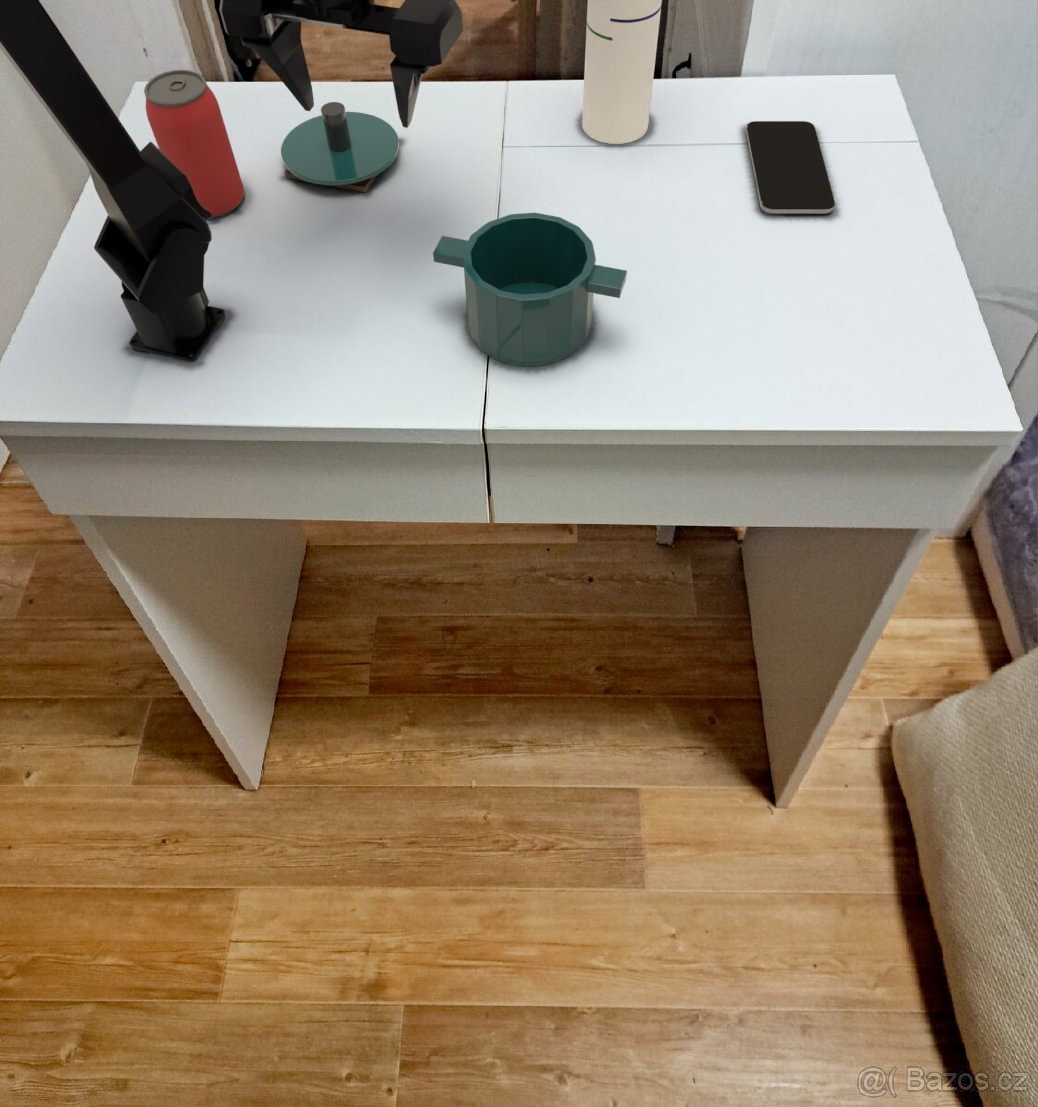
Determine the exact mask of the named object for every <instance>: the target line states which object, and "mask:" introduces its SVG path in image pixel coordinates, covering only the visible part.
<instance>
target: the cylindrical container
mask: <svg viewBox="0 0 1038 1107" xmlns="http://www.w3.org/2000/svg"><path fill="white" fill-rule="evenodd" d="M662 3H663V0H587V7H586V8H587V9H586V30H585V51H584V53H585V54H584V56H585V57H584V73H583V93H582V94H583V96H582V97H583V98H582V116H581V117H582V118H581V126H582V130H583V131H584V133H585V134H586V135H587V136H588V137H589V138H591V139H592V140H595V141H597V142H600V143H603V144H609V145H623V144H628V143H629V144H630V143H632V142H635V141H637V140H639V139H641V138H642V137H643V136H645V134H646V133H647V131H648V129H649V123H650V122H649V121H650V113H651V103H652V93H653V85H654V76H655V75H654V74H655V66H656V59H657V58H656V57H657V50H658V40H659V31H660V23H661V12H662Z"/></svg>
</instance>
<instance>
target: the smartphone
mask: <svg viewBox="0 0 1038 1107" xmlns="http://www.w3.org/2000/svg"><path fill="white" fill-rule="evenodd" d="M745 136H746V139H747V140H746V141H747V144H748V150H749V155H750V161H751V164H752V170H753V175H754V180H755V184H756V185H755V186H756V191H757V197H758V201H759V206H760V209H761V210H762V211H763V212H765V213H767V214H779V215H780V214H785V215H786V214H799V215H800V214H801V215H802V214H806V215H807V214H809V215H811V214H813V215H814V214H817V215H818V214H819V215H820V214H821V215H822V214H830V213H831V212H833V211H834V209H835V205H836V201H835V198H834V193H833V189H832V187H831V186H832V185H831V182H830V179H829V175H828V171H827V168H826V163H825V161H824V160H825V159H824V156H823V153H822V149H821V146H820V141H819V138H818V134H817V130H816V127H815V125H814V124H813V123H812V122H810V121H805V120H775V121H774V120H754V121H750V122H749V123H747V124H746V127H745Z"/></svg>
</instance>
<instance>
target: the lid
mask: <svg viewBox="0 0 1038 1107" xmlns="http://www.w3.org/2000/svg"><path fill="white" fill-rule="evenodd" d="M320 113H321V114H320V115H317V116H314V117H312V118H309V119H307V120H305V121H302V122H301V123H299V124H298V125H297V126H295V127H294V128H292V130H290V131H289V133H287V135H286V136H285V137H284V140H283V141H282V144H281V147H280V154H281V159H282V163H283V165H284V166H285V168H286V170H287V169H288V170H289V171H290V172H291V173H292V174H293V175H295V176H296V177H298V178H300V179H302V180H305V181H304V182H307V183H311V184H315V185H321V186H328V185H346V184H352V183H357V182H360V181H364V180H366V179H369V178H371V177H373V176H376V175H377V174H378V175H379V174H381V173H383V172H384V171H385V170H386V169H387V168H389V167H390V166H391V165H392V164H393V163H394V161H395V160H396V158H397V156H398V154H399V151H400V142H399V141H400V140H399V137H398V134H397V132H396V130H395V129H394V127H393V126H392V125H391V124H390V123H389V122H387V121H386V120H384V119H382V118H380V117H379V116H376V115H371V114H368V113H364V112H358V111H357V112H356V111H346V107H345V105H344V104H343V103H341V102H338V101H331V102H326V103H325V104H323V105H322V106H321V108H320ZM378 175H377V176H378ZM377 176H376V177H377Z"/></svg>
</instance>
